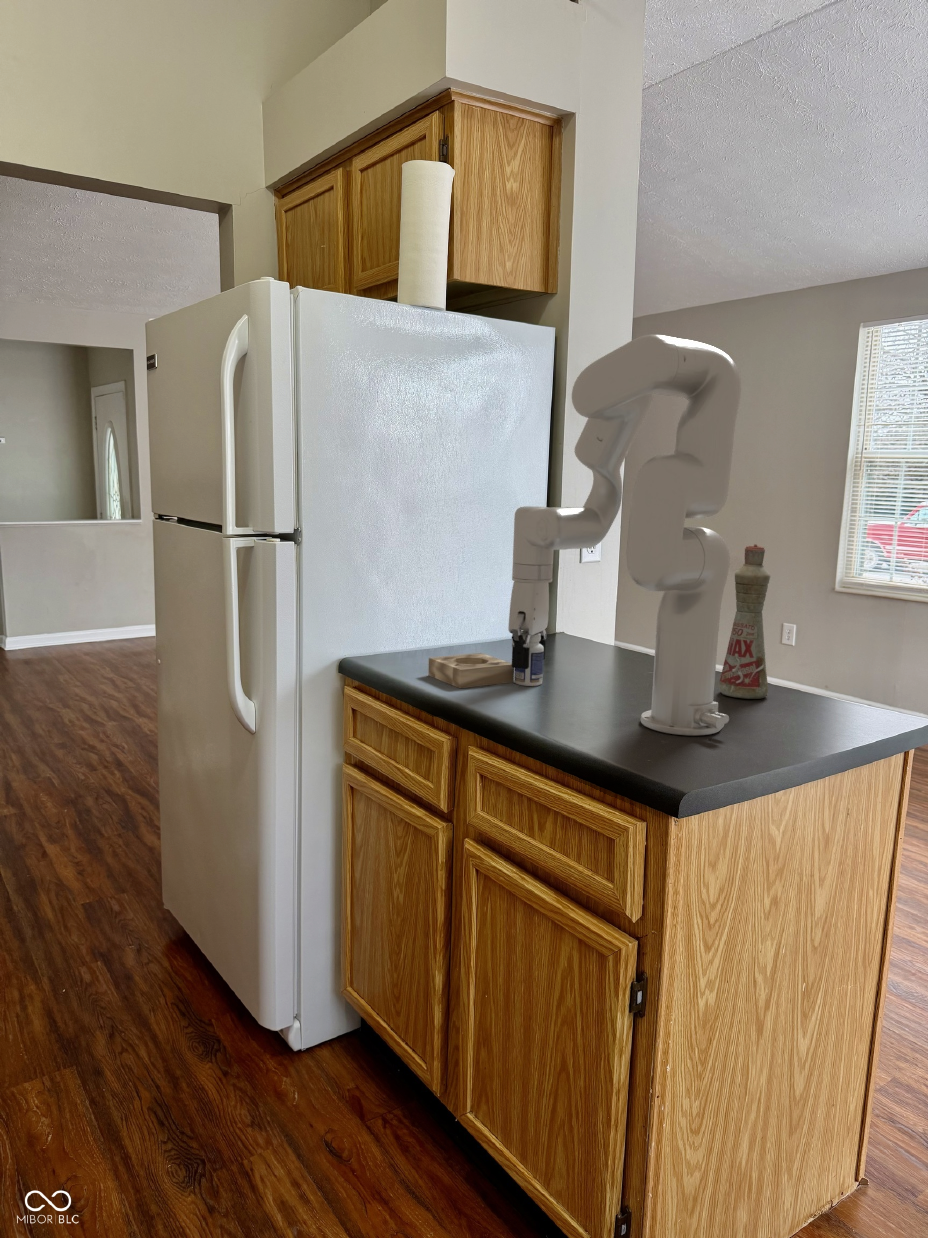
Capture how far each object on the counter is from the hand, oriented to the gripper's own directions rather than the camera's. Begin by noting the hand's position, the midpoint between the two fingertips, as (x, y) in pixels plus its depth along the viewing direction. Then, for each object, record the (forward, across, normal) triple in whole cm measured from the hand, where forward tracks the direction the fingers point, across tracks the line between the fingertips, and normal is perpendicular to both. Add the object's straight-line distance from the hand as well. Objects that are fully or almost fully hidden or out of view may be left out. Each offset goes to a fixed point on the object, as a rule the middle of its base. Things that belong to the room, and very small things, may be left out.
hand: (528, 663), depth 167 cm
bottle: (+4, -11, +38) cm, 40 cm away
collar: (+4, +2, -11) cm, 12 cm away
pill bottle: (+4, 0, 0) cm, 4 cm away
